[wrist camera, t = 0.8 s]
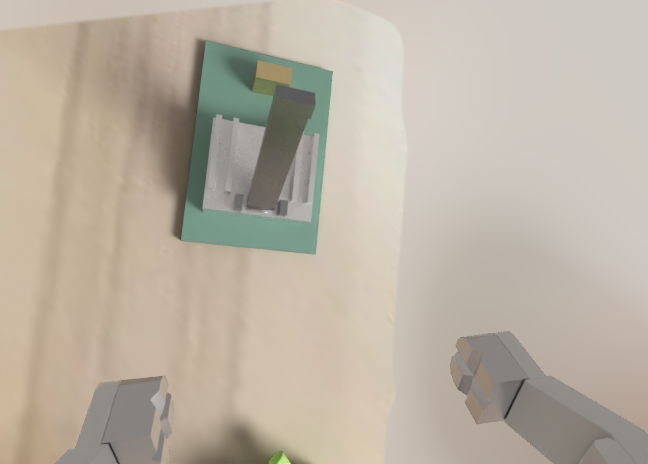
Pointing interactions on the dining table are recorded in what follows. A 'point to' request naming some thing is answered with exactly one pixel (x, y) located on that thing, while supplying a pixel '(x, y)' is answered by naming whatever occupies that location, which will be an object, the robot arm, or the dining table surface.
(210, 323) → the dining table surface
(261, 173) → the block
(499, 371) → the robot arm
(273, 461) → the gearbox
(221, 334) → the dining table surface
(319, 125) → the circuit board
